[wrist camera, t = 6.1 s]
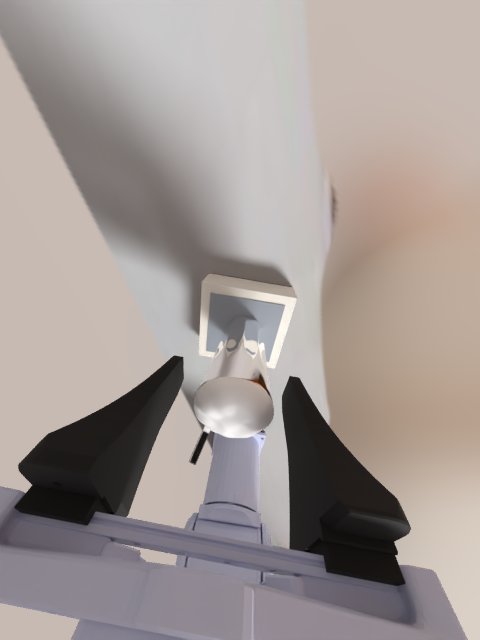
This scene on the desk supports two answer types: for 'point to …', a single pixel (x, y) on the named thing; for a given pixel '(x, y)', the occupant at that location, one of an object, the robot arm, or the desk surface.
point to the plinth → (244, 311)
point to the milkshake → (235, 386)
